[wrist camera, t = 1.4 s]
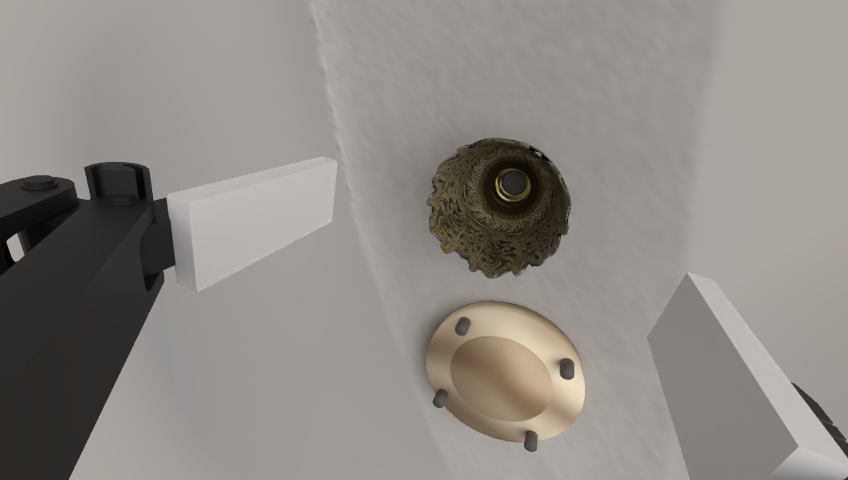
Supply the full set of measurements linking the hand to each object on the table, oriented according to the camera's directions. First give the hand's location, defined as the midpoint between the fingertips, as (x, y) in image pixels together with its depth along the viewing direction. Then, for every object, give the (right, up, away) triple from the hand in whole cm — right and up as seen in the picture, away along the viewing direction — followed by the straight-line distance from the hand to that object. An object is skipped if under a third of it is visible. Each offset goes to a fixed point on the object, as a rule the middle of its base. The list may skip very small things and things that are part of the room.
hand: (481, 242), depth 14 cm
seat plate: (+5, -11, +18) cm, 21 cm away
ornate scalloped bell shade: (+4, +4, +12) cm, 14 cm away
